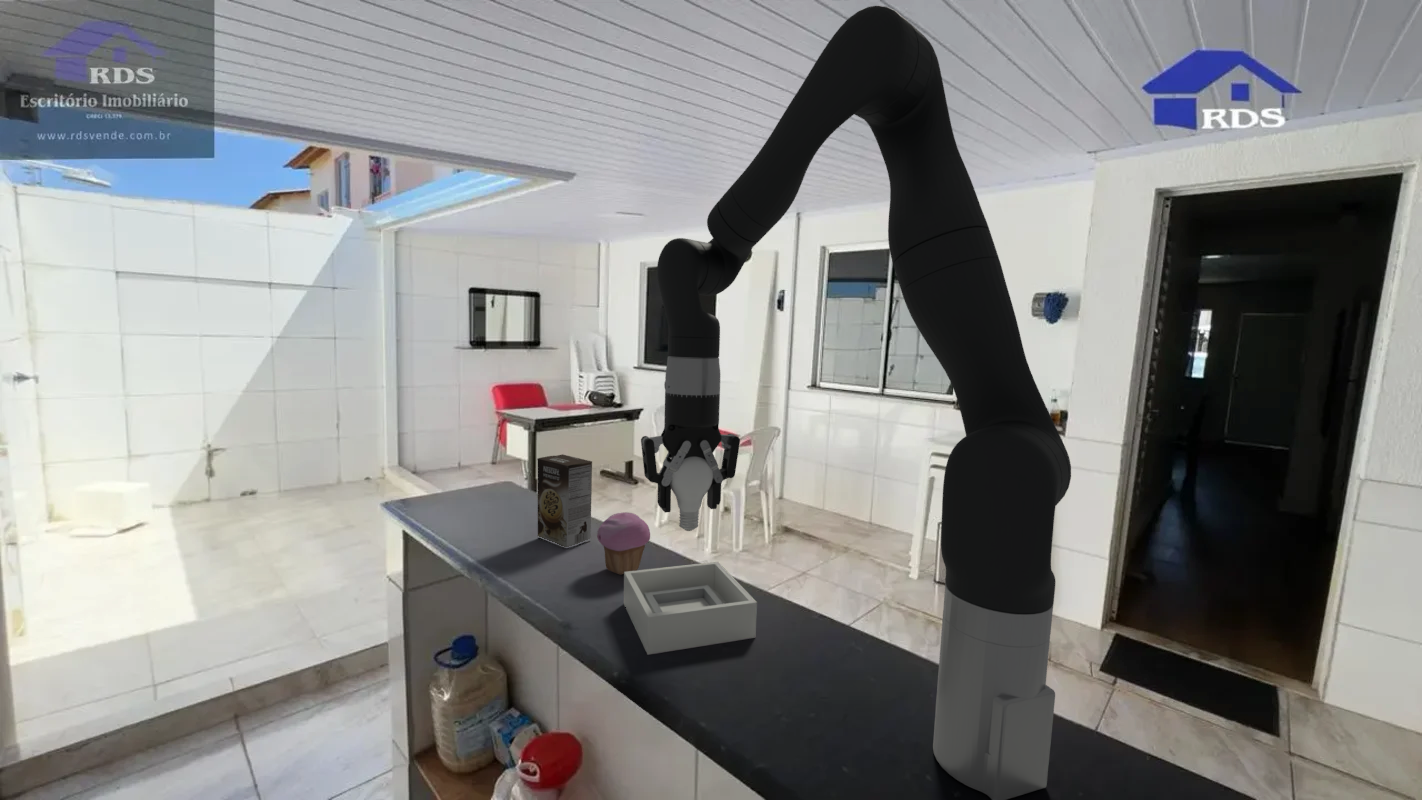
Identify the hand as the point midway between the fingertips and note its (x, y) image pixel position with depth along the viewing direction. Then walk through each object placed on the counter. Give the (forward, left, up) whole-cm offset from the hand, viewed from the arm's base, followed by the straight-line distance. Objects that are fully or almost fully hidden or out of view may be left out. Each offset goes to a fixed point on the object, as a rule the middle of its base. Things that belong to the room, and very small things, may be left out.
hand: (689, 508), depth 83 cm
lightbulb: (0, 0, -3) cm, 3 cm away
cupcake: (+20, +5, -17) cm, 26 cm away
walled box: (0, 0, -16) cm, 16 cm away
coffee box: (+38, +13, -17) cm, 44 cm away
